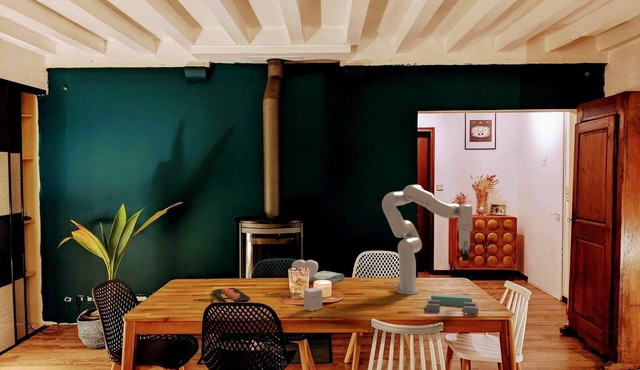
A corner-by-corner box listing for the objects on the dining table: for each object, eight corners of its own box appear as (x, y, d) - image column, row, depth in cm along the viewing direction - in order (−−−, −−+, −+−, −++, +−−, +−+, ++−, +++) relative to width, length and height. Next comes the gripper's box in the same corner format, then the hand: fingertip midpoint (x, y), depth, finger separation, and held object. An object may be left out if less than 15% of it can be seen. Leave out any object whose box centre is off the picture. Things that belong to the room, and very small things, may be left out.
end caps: (426, 311, 233) (426, 304, 233) (426, 306, 242) (426, 299, 242) (478, 315, 226) (478, 308, 226) (476, 309, 235) (476, 302, 235)
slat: (431, 304, 246) (431, 296, 246) (431, 302, 249) (431, 294, 249) (472, 307, 241) (472, 298, 240) (471, 305, 244) (471, 296, 243)
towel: (302, 281, 298) (302, 273, 298) (326, 276, 312) (326, 268, 312) (320, 286, 284) (319, 278, 284) (345, 281, 298) (344, 273, 298)
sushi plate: (252, 302, 254) (252, 295, 253) (198, 311, 238) (198, 303, 238) (233, 290, 279) (233, 284, 278) (184, 297, 263) (183, 291, 263)
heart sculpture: (291, 290, 274) (291, 261, 273) (293, 288, 279) (293, 259, 278) (317, 291, 272) (316, 261, 271) (318, 289, 276) (318, 259, 276)
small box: (316, 306, 242) (315, 287, 242) (322, 309, 238) (322, 289, 237) (303, 309, 237) (303, 289, 237) (310, 312, 233) (310, 292, 232)
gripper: (456, 225, 257) (456, 255, 257) (458, 229, 240) (458, 261, 240) (470, 225, 255) (470, 256, 256) (473, 229, 238) (473, 262, 239)
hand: (464, 258), depth 248 cm, fingers open, 9 cm apart
